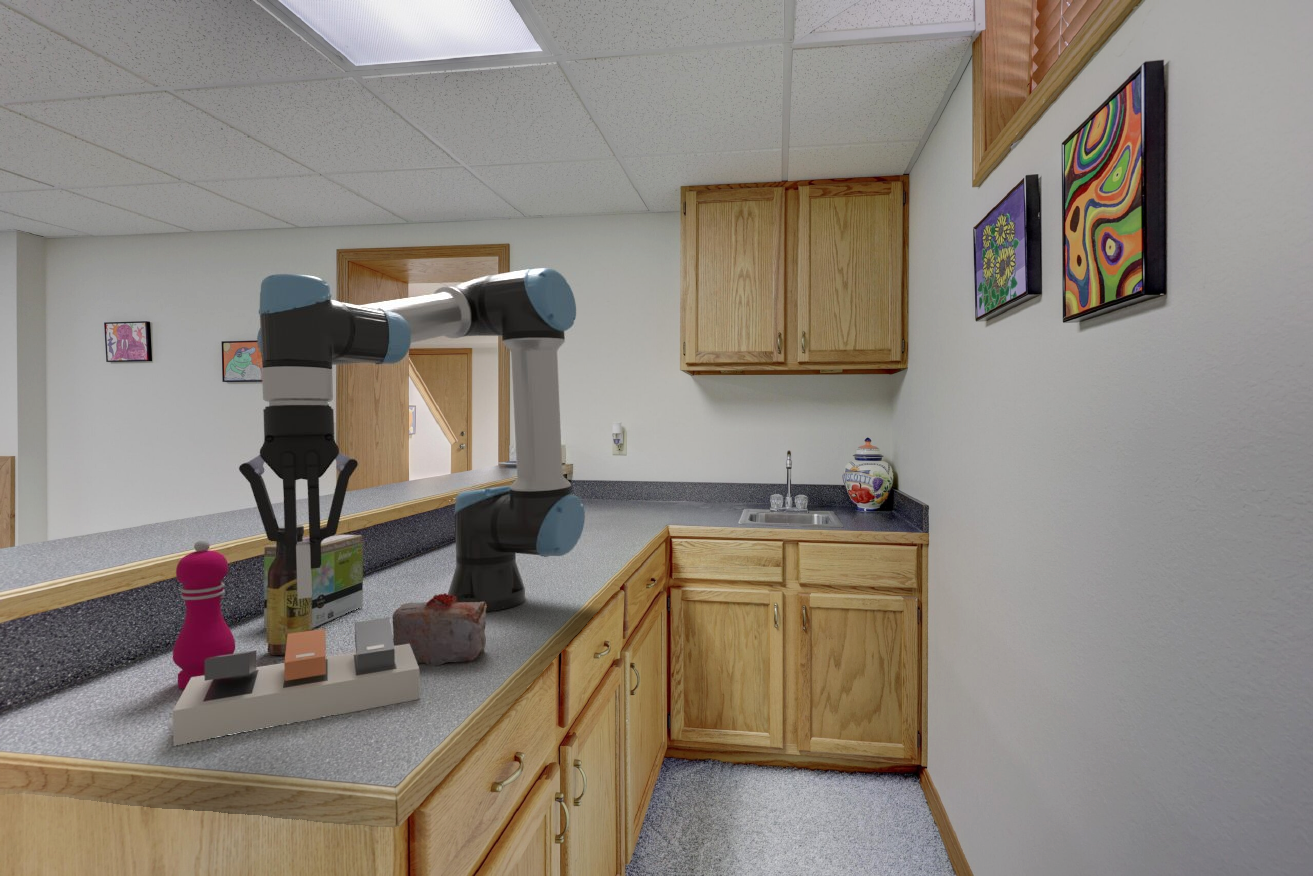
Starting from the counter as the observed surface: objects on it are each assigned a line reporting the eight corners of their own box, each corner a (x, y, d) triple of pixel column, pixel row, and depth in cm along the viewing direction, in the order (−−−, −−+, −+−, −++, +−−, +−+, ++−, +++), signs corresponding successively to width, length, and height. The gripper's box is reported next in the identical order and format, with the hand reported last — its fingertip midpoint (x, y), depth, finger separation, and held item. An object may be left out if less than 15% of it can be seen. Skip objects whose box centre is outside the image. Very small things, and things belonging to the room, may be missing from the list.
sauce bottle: (291, 658, 100) (288, 530, 99) (257, 656, 101) (254, 529, 100) (322, 644, 106) (319, 523, 106) (289, 642, 107) (286, 523, 107)
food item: (492, 648, 103) (490, 586, 103) (482, 666, 95) (480, 600, 95) (404, 651, 102) (403, 589, 102) (387, 670, 94) (385, 603, 94)
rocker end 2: (389, 632, 91) (389, 617, 90) (394, 665, 84) (394, 648, 84) (354, 637, 89) (354, 622, 89) (357, 671, 82) (357, 654, 82)
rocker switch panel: (410, 671, 94) (409, 643, 94) (419, 699, 84) (419, 668, 84) (192, 708, 82) (191, 677, 82) (173, 746, 72) (172, 710, 72)
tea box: (313, 631, 113) (311, 547, 113) (262, 629, 115) (260, 546, 115) (365, 607, 128) (363, 532, 128) (319, 605, 130) (317, 532, 130)
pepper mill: (243, 680, 91) (239, 539, 91) (180, 696, 86) (176, 546, 85) (227, 668, 96) (224, 533, 96) (167, 682, 91) (163, 540, 90)
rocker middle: (325, 645, 87) (325, 628, 87) (325, 674, 80) (325, 655, 80) (288, 650, 85) (287, 633, 85) (284, 681, 78) (284, 662, 78)
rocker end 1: (256, 669, 83) (256, 649, 84) (249, 673, 76) (249, 652, 77) (215, 676, 81) (215, 655, 82) (204, 680, 74) (204, 658, 75)
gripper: (356, 405, 85) (361, 582, 86) (239, 405, 79) (246, 595, 80) (358, 403, 79) (364, 595, 79) (231, 403, 73) (238, 611, 73)
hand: (305, 595), depth 80 cm, fingers closed
